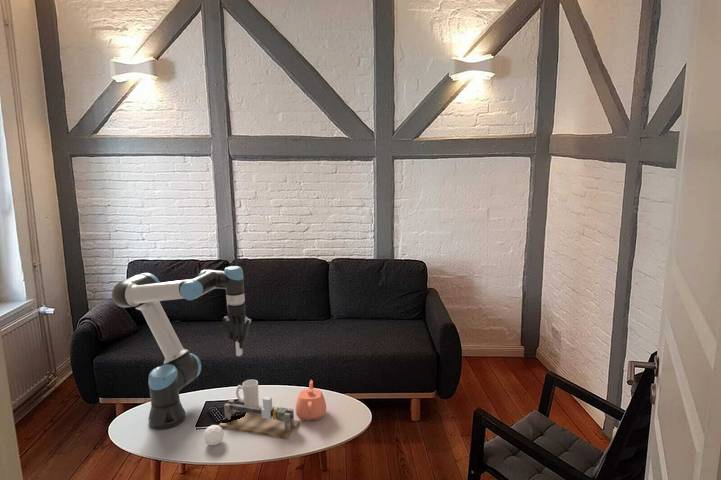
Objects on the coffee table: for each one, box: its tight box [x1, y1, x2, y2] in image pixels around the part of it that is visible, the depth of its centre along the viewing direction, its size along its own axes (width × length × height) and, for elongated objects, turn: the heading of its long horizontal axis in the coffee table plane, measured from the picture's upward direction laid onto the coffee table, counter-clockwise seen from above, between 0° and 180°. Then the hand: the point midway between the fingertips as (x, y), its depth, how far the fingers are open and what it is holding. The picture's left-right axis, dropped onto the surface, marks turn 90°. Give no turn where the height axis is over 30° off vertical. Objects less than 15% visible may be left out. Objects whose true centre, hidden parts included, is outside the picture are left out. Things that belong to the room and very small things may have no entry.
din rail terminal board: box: [218, 399, 301, 440], centre depth 224 cm, size 32×12×9 cm, turn 73°
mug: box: [235, 379, 260, 408], centre depth 238 cm, size 10×7×12 cm, turn 88°
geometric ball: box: [203, 424, 225, 446], centre depth 212 cm, size 8×8×8 cm
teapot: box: [295, 379, 327, 422], centre depth 232 cm, size 13×20×12 cm, turn 4°
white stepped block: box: [261, 396, 275, 419], centre depth 222 cm, size 4×4×8 cm
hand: (239, 354), depth 228 cm, fingers closed
